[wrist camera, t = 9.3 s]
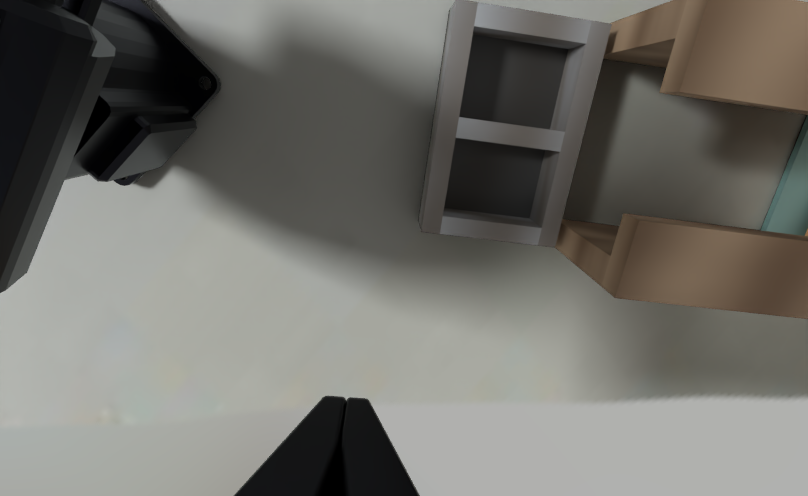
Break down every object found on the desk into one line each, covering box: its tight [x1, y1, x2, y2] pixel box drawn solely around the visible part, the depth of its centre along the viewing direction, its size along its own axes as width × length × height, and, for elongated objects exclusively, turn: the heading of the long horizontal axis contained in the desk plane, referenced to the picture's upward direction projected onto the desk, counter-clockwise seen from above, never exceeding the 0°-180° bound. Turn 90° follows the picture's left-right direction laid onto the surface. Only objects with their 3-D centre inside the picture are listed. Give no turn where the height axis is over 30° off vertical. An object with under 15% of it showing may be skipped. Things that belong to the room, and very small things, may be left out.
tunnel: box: [418, 0, 808, 319], centre depth 17 cm, size 24×10×6 cm, turn 82°
